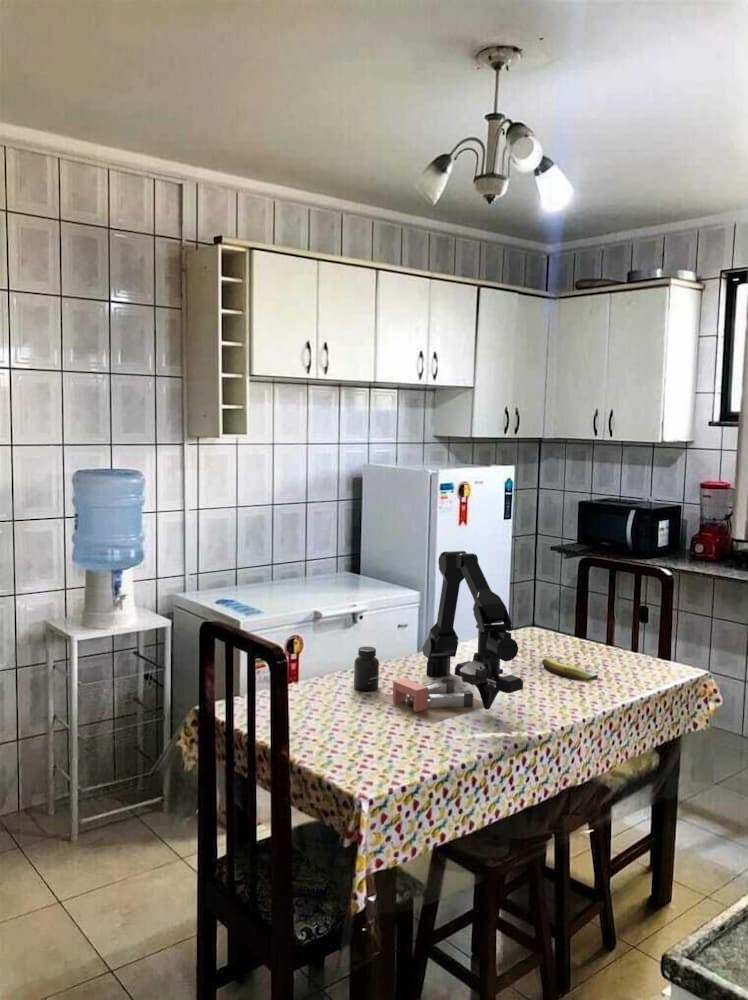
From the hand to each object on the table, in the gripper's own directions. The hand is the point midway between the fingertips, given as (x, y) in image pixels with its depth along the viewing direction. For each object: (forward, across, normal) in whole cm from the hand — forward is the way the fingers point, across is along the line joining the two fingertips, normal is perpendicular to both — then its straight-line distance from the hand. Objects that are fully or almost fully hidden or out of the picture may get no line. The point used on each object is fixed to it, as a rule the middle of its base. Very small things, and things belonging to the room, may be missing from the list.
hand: (487, 709), depth 213 cm
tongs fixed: (+1, -16, -4) cm, 17 cm away
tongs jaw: (+1, -10, -6) cm, 12 cm away
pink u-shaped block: (+1, -15, -12) cm, 20 cm away
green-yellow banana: (+3, -9, +46) cm, 47 cm away
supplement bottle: (+2, -34, -12) cm, 36 cm away
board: (+2, -14, -5) cm, 15 cm away
